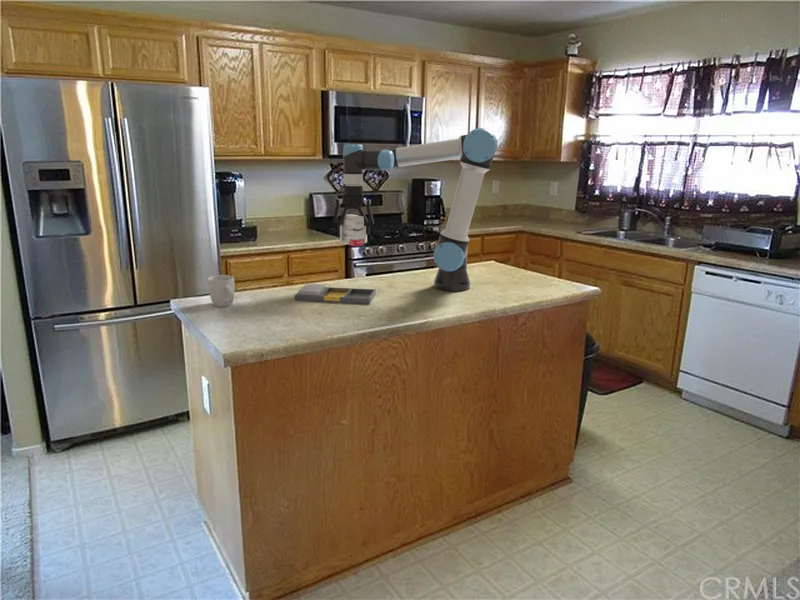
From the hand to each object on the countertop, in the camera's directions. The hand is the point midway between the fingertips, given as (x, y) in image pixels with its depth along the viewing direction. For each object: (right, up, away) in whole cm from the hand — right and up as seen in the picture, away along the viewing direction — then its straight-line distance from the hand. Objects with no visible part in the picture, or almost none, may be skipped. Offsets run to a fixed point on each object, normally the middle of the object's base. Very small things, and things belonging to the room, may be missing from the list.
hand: (353, 241), depth 221 cm
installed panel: (-15, -22, -7) cm, 28 cm away
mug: (-45, -26, -22) cm, 56 cm away
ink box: (0, -1, 0) cm, 1 cm away
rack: (-6, -22, -8) cm, 25 cm away
